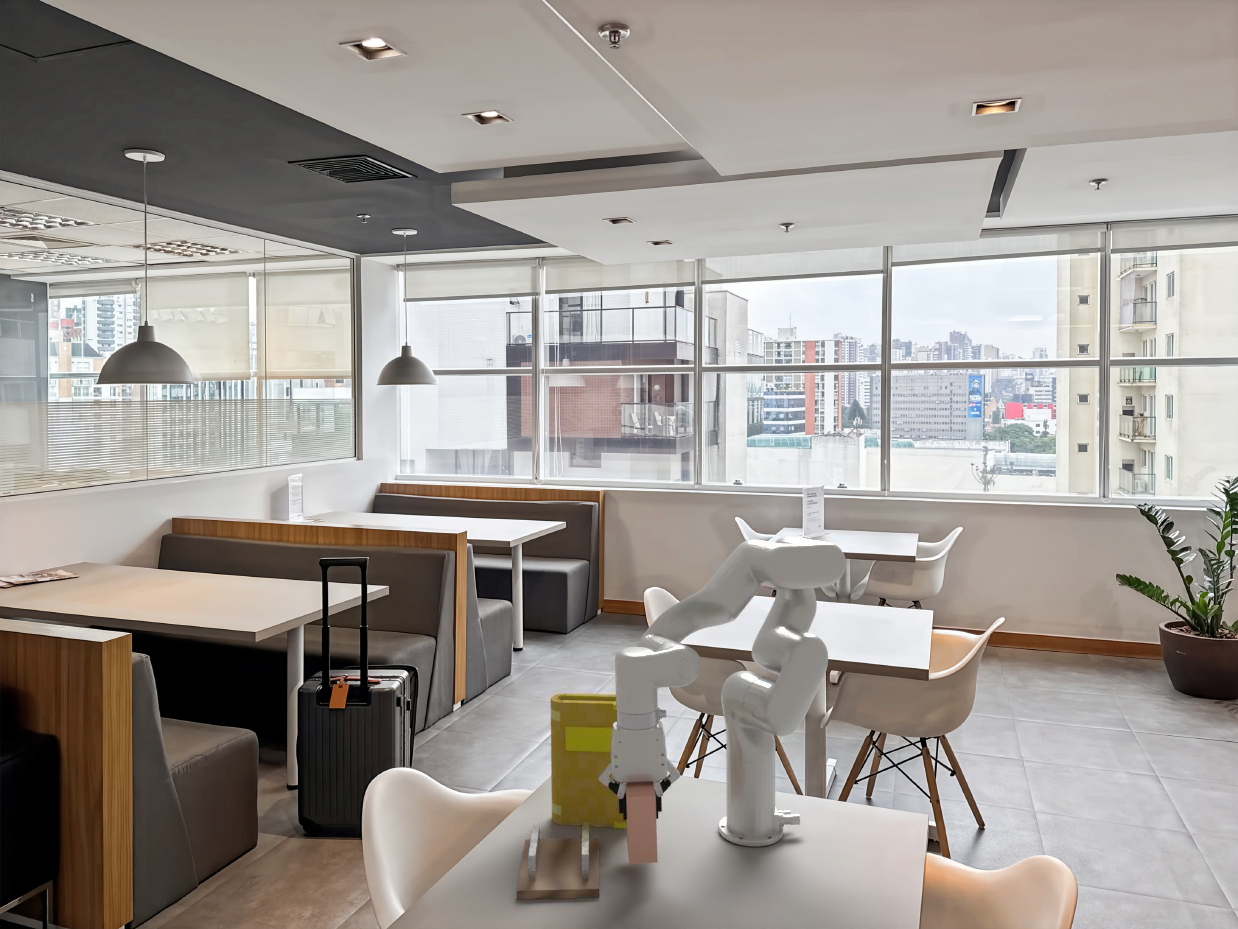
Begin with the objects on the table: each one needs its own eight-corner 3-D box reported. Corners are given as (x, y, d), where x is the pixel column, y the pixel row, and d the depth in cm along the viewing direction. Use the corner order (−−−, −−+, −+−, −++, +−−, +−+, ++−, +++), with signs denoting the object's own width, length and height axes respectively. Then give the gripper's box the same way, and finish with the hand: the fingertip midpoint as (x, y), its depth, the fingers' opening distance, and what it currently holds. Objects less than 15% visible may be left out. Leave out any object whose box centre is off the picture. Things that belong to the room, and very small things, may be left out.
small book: (653, 831, 161) (651, 769, 160) (657, 862, 150) (655, 795, 149) (626, 833, 161) (624, 770, 160) (629, 863, 150) (626, 797, 149)
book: (636, 813, 177) (635, 694, 176) (633, 828, 171) (632, 704, 170) (555, 810, 179) (553, 692, 178) (549, 825, 172) (548, 702, 171)
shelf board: (598, 845, 164) (598, 837, 164) (599, 897, 146) (599, 888, 146) (525, 847, 164) (525, 839, 163) (516, 899, 146) (516, 890, 145)
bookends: (589, 845, 161) (588, 822, 161) (588, 879, 149) (588, 854, 149) (533, 846, 161) (533, 823, 160) (528, 881, 149) (528, 855, 148)
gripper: (682, 708, 158) (685, 804, 159) (590, 712, 157) (593, 808, 159) (687, 723, 150) (689, 823, 152) (590, 727, 150) (593, 828, 151)
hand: (640, 815), depth 155 cm, fingers closed on small book, 5 cm apart
